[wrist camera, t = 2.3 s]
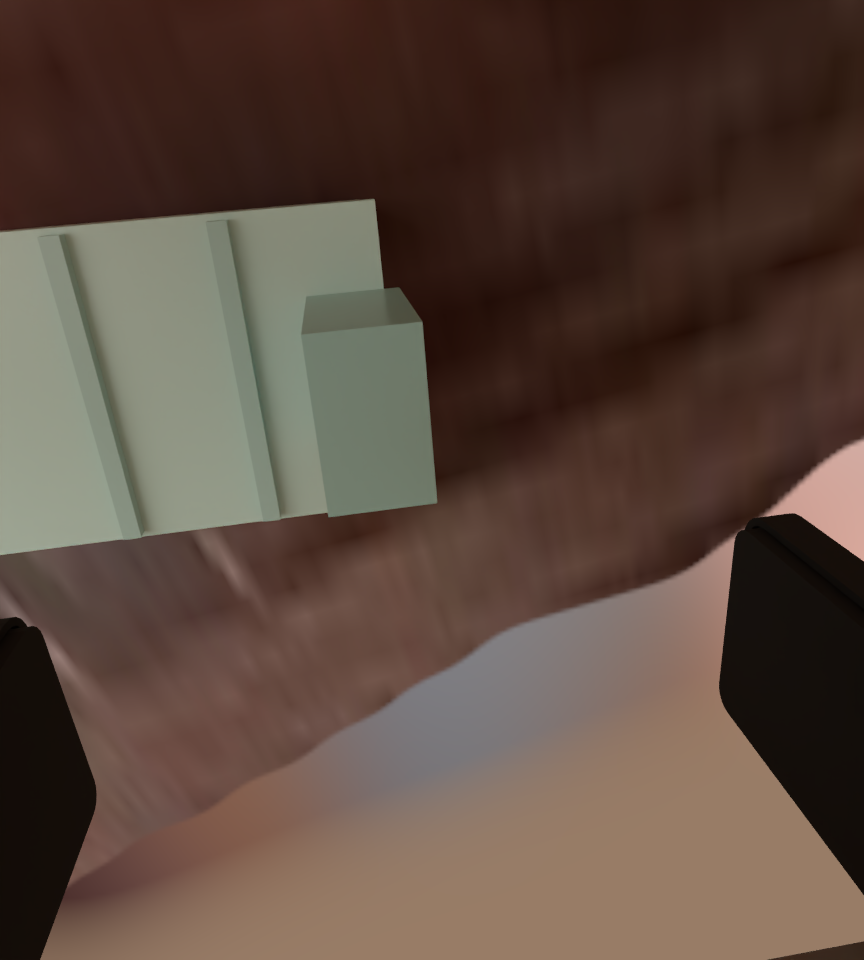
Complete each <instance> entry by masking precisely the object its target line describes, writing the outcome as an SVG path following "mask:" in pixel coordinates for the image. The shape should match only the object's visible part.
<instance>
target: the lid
mask: <svg viewBox="0 0 864 960" xmlns="http://www.w3.org/2000/svg"><path fill="white" fill-rule="evenodd" d="M434 503H437V493H436V481H435V469H434V457H433V444H432V432H431V420H430V408H429V396H428V383H427V371H426V359H425V347H424V334H423V322H422V320H421V319H420V317H419V316H418V314H417V313H416V311H415V310H414V308H413V307H412V306H411V304H410V303H409V301H408V300H407V298H406V297H405V295H404V294H403V292H402V291H401V289H400V288H399V287H396V288H386V289H384V285H383V275H382V266H381V256H380V246H379V236H378V226H377V216H376V207H375V199H364V200H353V201H342V202H330V203H319V204H307V205H296V206H285V207H273V208H262V209H250V210H239V211H227V212H216V213H205V214H193V215H182V216H170V217H159V218H148V219H136V220H125V221H113V222H102V223H91V224H79V225H68V226H56V227H45V228H33V229H22V230H11V231H0V555H4V554H12V553H19V552H27V551H35V550H42V549H50V548H58V547H66V546H73V545H81V544H89V543H96V542H104V541H112V540H120V539H123V540H127V539H135V538H141V537H143V536H151V535H158V534H166V533H174V532H181V531H189V530H197V529H205V528H212V527H220V526H228V525H235V524H243V523H251V522H259V521H263V522H266V521H274V520H281V519H282V518H289V517H297V516H305V515H313V514H320V513H328V517H334V516H342V515H350V514H357V513H365V512H373V511H380V510H388V509H396V508H403V507H411V506H419V505H427V504H434Z"/></svg>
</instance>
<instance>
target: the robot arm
mask: <svg viewBox="0 0 864 960" xmlns="http://www.w3.org/2000/svg"><path fill="white" fill-rule="evenodd" d="M719 690H720V696H721V699H722V703H723V705H724V707H725V709H726V710H727V712H728V714H729V715H730V716H731V718H732V719H733V720H734V722H735V723H736V724H737V726H738V727H739V728H740V730H741V731H742V732H743V734H744V735H745V736H746V738H747V739H748V740H749V742H750V743H751V744H752V746H753V747H754V749H755V750H756V751H757V753H758V754H759V755H760V757H761V758H762V759H763V761H764V762H765V763H766V764H767V766H768V767H769V769H770V770H771V771H772V773H773V774H774V775H775V777H776V778H777V779H778V780H779V782H780V783H781V785H782V786H783V787H784V789H785V790H786V791H787V793H788V794H789V795H790V797H791V798H792V799H793V801H794V802H795V803H796V805H797V806H798V807H799V809H800V810H801V811H802V813H803V814H804V815H805V817H806V818H807V820H808V821H809V822H810V824H811V825H812V826H813V828H814V829H815V830H816V831H817V833H818V834H819V836H820V837H821V838H822V839H823V841H824V842H825V844H826V845H827V846H828V848H829V849H830V850H831V852H832V853H833V854H834V856H835V857H836V858H837V860H838V861H839V862H840V864H841V865H842V866H843V868H844V869H845V870H846V872H847V873H848V874H849V876H850V877H851V878H852V880H853V881H854V883H855V884H856V885H857V886H858V888H859V889H860V890H861V892H862V893H863V895H864V561H862V560H861V559H859V558H858V557H857V556H855V555H854V554H852V553H851V552H850V551H848V550H847V549H845V548H844V547H843V546H841V545H840V544H838V543H837V542H836V541H834V540H833V539H831V538H830V537H829V536H827V535H826V534H824V533H823V532H822V531H820V530H819V529H818V528H816V527H815V526H813V525H812V524H811V523H809V522H808V521H806V520H805V519H804V518H802V517H801V516H799V515H797V514H783V515H776V516H768V517H760V518H753V519H752V520H750V521H749V522H748V524H747V526H746V528H745V530H741V531H740V532H738V534H737V535H736V538H735V543H734V552H733V561H732V571H731V580H730V589H729V599H728V608H727V617H726V626H725V635H724V644H723V654H722V663H721V672H720V681H719ZM95 806H96V785H95V781H94V778H93V775H92V772H91V770H90V767H89V764H88V761H87V758H86V756H85V753H84V750H83V747H82V744H81V741H80V739H79V736H78V733H77V730H76V727H75V725H74V722H73V719H72V716H71V713H70V711H69V708H68V705H67V702H66V699H65V697H64V694H63V691H62V688H61V685H60V682H59V680H58V677H57V674H56V671H55V668H54V666H53V663H52V660H51V657H50V654H49V652H48V649H47V646H46V643H45V640H44V638H43V635H42V633H41V631H40V630H39V629H38V628H37V627H35V626H31V627H27V625H26V624H25V623H24V621H23V620H22V619H20V618H17V617H13V618H5V619H0V960H40V958H41V955H42V953H43V950H44V947H45V945H46V942H47V939H48V936H49V934H50V931H51V928H52V926H53V923H54V920H55V917H56V915H57V912H58V909H59V907H60V904H61V901H62V899H63V896H64V893H65V890H66V888H67V885H68V882H69V879H70V877H71V874H72V871H73V869H74V866H75V863H76V860H77V858H78V855H79V852H80V850H81V847H82V844H83V841H84V839H85V836H86V833H87V831H88V828H89V825H90V822H91V820H92V817H93V814H94V811H95ZM769 960H864V942H859V943H853V944H848V945H843V946H838V947H832V948H827V949H822V950H816V951H811V952H806V953H801V954H795V955H790V956H784V957H780V958H774V959H769Z"/></svg>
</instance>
